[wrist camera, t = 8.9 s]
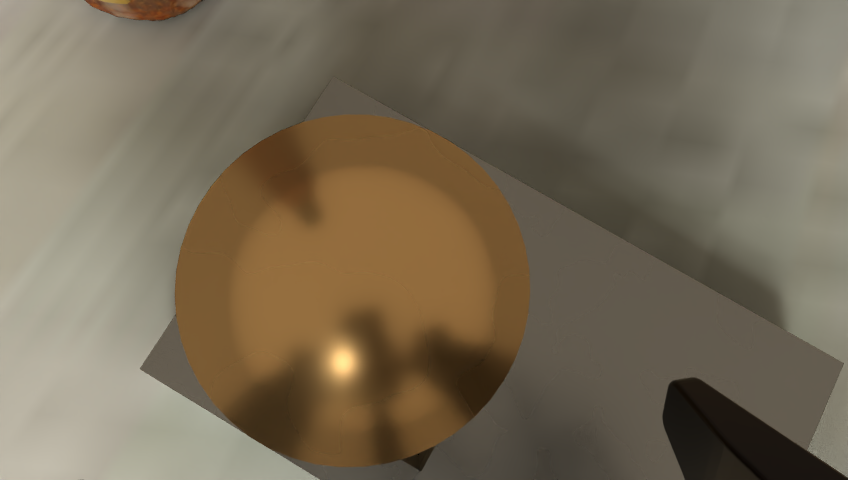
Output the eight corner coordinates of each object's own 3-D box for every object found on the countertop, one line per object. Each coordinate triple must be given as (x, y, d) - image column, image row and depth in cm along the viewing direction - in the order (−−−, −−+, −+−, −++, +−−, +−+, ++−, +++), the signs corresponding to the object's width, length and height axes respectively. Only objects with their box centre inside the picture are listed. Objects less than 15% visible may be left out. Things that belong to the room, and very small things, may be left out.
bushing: (481, 330, 19) (602, 295, 7) (378, 424, 19) (333, 550, 7) (391, 229, 20) (372, 50, 8) (288, 318, 19) (102, 265, 7)
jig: (788, 362, 19) (844, 363, 17) (656, 660, 18) (696, 710, 15) (341, 109, 21) (333, 76, 18) (174, 366, 19) (139, 369, 16)
